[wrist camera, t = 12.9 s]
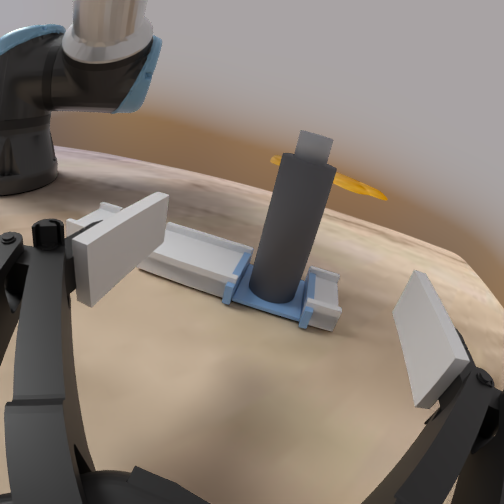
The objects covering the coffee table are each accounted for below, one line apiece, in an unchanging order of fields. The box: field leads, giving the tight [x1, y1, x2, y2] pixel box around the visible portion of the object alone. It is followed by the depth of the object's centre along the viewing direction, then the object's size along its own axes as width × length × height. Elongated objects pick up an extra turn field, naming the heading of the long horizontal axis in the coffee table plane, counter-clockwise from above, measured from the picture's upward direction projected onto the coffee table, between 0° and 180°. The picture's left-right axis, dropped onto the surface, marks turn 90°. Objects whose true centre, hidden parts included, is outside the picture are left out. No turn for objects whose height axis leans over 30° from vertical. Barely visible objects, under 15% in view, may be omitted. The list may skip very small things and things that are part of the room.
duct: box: [66, 202, 342, 331], centre depth 26 cm, size 25×7×2 cm, turn 76°
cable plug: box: [249, 130, 336, 303], centre depth 23 cm, size 4×4×13 cm
